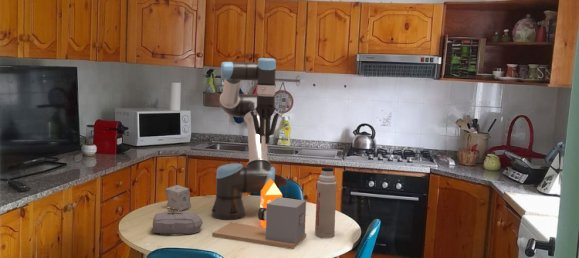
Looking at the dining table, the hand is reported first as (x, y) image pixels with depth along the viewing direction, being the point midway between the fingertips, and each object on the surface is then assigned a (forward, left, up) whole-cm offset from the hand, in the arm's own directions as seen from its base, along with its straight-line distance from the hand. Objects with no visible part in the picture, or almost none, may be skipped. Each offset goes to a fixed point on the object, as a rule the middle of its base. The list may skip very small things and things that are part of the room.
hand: (264, 151), depth 224 cm
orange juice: (+3, +2, -33) cm, 33 cm away
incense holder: (-46, +7, -33) cm, 57 cm away
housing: (+5, -14, -32) cm, 36 cm away
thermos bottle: (+28, 0, -33) cm, 43 cm away
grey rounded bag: (-28, -21, -33) cm, 48 cm away
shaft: (+14, -14, -25) cm, 32 cm away
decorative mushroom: (-8, +36, -33) cm, 49 cm away
